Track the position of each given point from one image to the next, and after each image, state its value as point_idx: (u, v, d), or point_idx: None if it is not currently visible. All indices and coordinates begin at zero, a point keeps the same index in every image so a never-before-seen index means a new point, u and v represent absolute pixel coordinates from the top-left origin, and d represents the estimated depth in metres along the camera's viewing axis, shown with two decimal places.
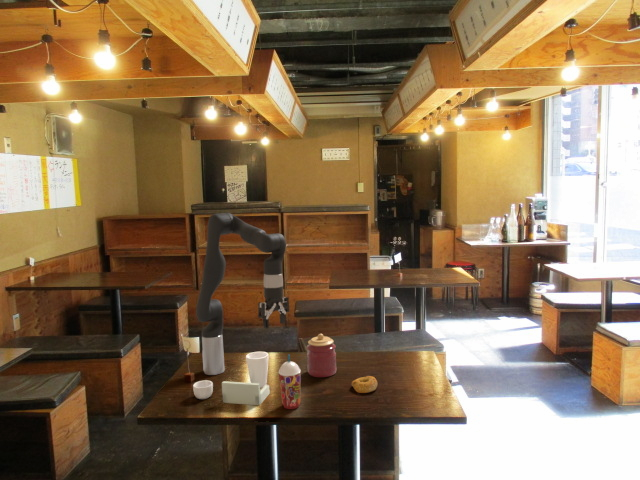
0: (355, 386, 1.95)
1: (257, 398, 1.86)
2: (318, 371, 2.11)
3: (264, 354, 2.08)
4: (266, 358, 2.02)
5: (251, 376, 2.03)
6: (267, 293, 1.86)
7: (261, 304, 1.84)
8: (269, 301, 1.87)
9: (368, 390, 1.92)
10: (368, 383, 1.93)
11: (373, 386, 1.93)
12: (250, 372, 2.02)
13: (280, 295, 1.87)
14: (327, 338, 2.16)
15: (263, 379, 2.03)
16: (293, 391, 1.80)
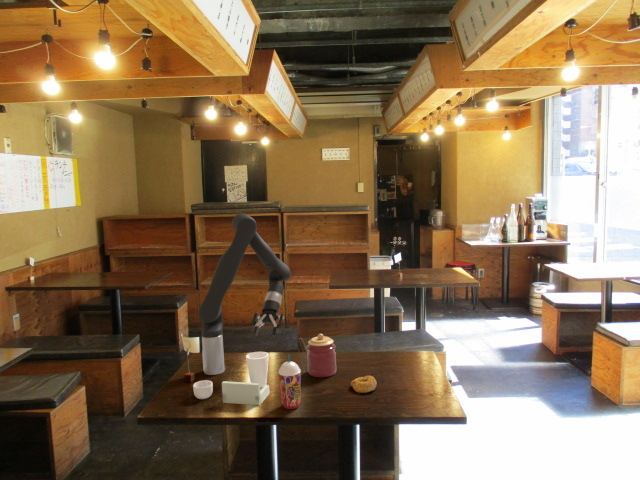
0: (354, 386, 1.95)
1: (257, 398, 1.86)
2: (318, 371, 2.11)
3: (264, 354, 2.07)
4: (266, 358, 2.02)
5: (251, 376, 2.02)
6: None
7: (283, 316, 2.17)
8: None
9: (367, 390, 1.93)
10: (367, 383, 1.94)
11: (372, 386, 1.93)
12: (250, 372, 2.02)
13: None
14: (327, 338, 2.16)
15: (263, 379, 2.03)
16: (293, 391, 1.80)
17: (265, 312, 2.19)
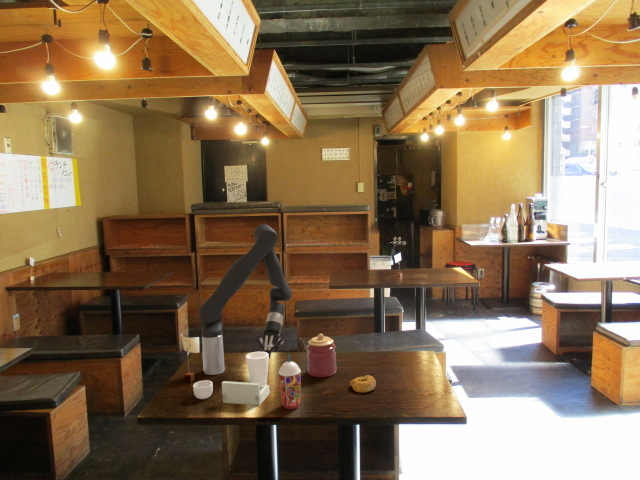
0: (354, 386, 1.95)
1: (257, 398, 1.86)
2: (318, 371, 2.11)
3: (264, 354, 2.07)
4: (266, 358, 2.02)
5: (251, 376, 2.03)
6: (280, 329, 2.22)
7: (283, 342, 2.17)
8: None
9: (367, 389, 1.93)
10: (367, 382, 1.94)
11: (372, 385, 1.94)
12: (250, 372, 2.02)
13: None
14: (327, 338, 2.16)
15: (263, 379, 2.03)
16: (293, 391, 1.80)
17: (267, 333, 2.20)
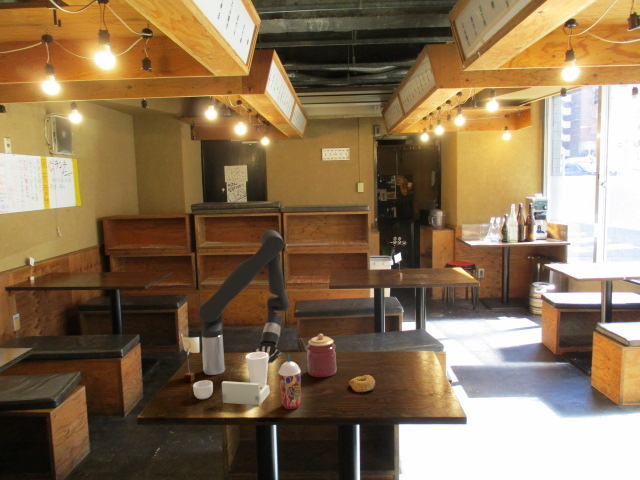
0: (353, 385, 1.96)
1: (257, 398, 1.86)
2: (318, 371, 2.11)
3: (264, 354, 2.07)
4: (266, 358, 2.02)
5: (251, 376, 2.02)
6: (277, 340, 2.18)
7: (280, 354, 2.14)
8: None
9: (366, 389, 1.93)
10: (366, 382, 1.94)
11: (371, 385, 1.94)
12: (250, 372, 2.02)
13: None
14: (327, 338, 2.16)
15: (263, 379, 2.02)
16: (293, 391, 1.80)
17: (264, 344, 2.17)
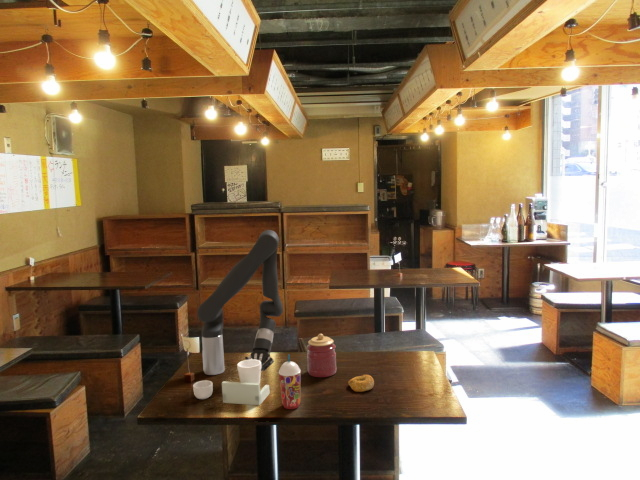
0: (352, 385, 1.96)
1: (257, 398, 1.86)
2: (318, 371, 2.11)
3: (256, 362, 1.98)
4: (259, 366, 1.93)
5: None
6: (270, 347, 2.09)
7: (272, 361, 2.05)
8: None
9: (365, 389, 1.94)
10: (365, 382, 1.95)
11: (370, 385, 1.95)
12: (242, 381, 1.93)
13: None
14: (327, 338, 2.16)
15: None
16: (293, 391, 1.80)
17: (256, 351, 2.08)
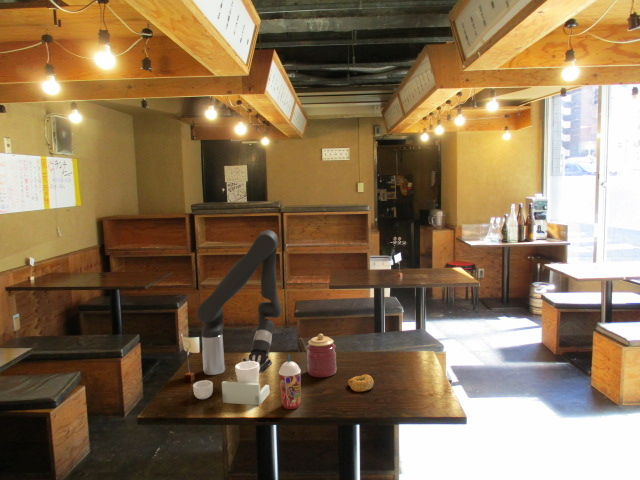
0: (351, 385, 1.96)
1: (257, 398, 1.86)
2: (318, 371, 2.11)
3: (254, 364, 1.96)
4: (257, 368, 1.91)
5: None
6: None
7: (271, 363, 2.03)
8: None
9: (364, 388, 1.94)
10: (364, 382, 1.95)
11: (369, 384, 1.95)
12: None
13: None
14: (327, 338, 2.16)
15: None
16: (293, 391, 1.80)
17: (254, 353, 2.06)
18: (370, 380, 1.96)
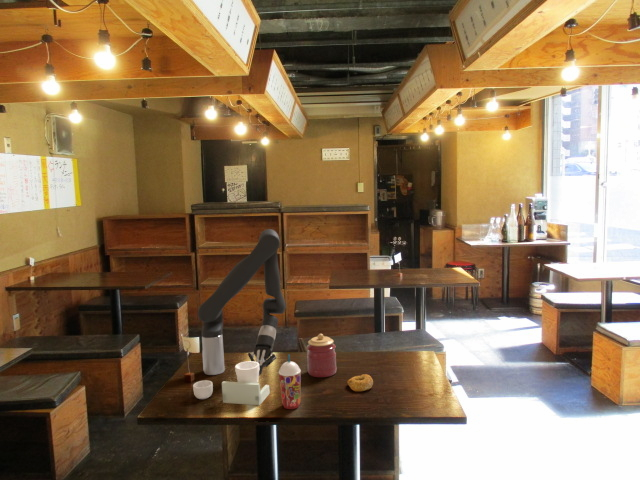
0: (351, 384, 1.96)
1: (257, 398, 1.86)
2: (318, 371, 2.11)
3: (254, 364, 1.96)
4: (257, 368, 1.91)
5: None
6: (273, 344, 2.13)
7: (275, 357, 2.08)
8: None
9: (364, 388, 1.94)
10: (364, 381, 1.95)
11: (369, 384, 1.95)
12: None
13: None
14: (327, 338, 2.16)
15: None
16: (293, 391, 1.80)
17: (259, 347, 2.11)
18: (369, 380, 1.96)
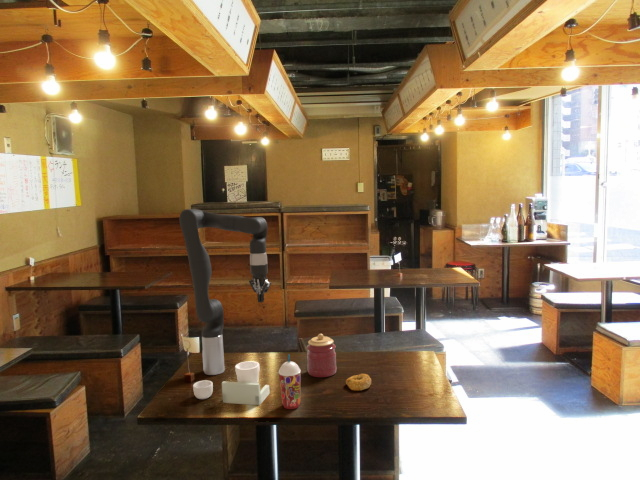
0: (349, 384, 1.97)
1: (257, 398, 1.86)
2: (318, 371, 2.11)
3: (254, 364, 1.96)
4: (257, 368, 1.91)
5: None
6: (265, 269, 2.10)
7: (269, 284, 2.09)
8: None
9: (362, 387, 1.95)
10: (362, 381, 1.96)
11: (367, 383, 1.96)
12: None
13: None
14: (327, 338, 2.16)
15: None
16: (293, 391, 1.80)
17: (254, 275, 2.13)
18: (368, 379, 1.97)
